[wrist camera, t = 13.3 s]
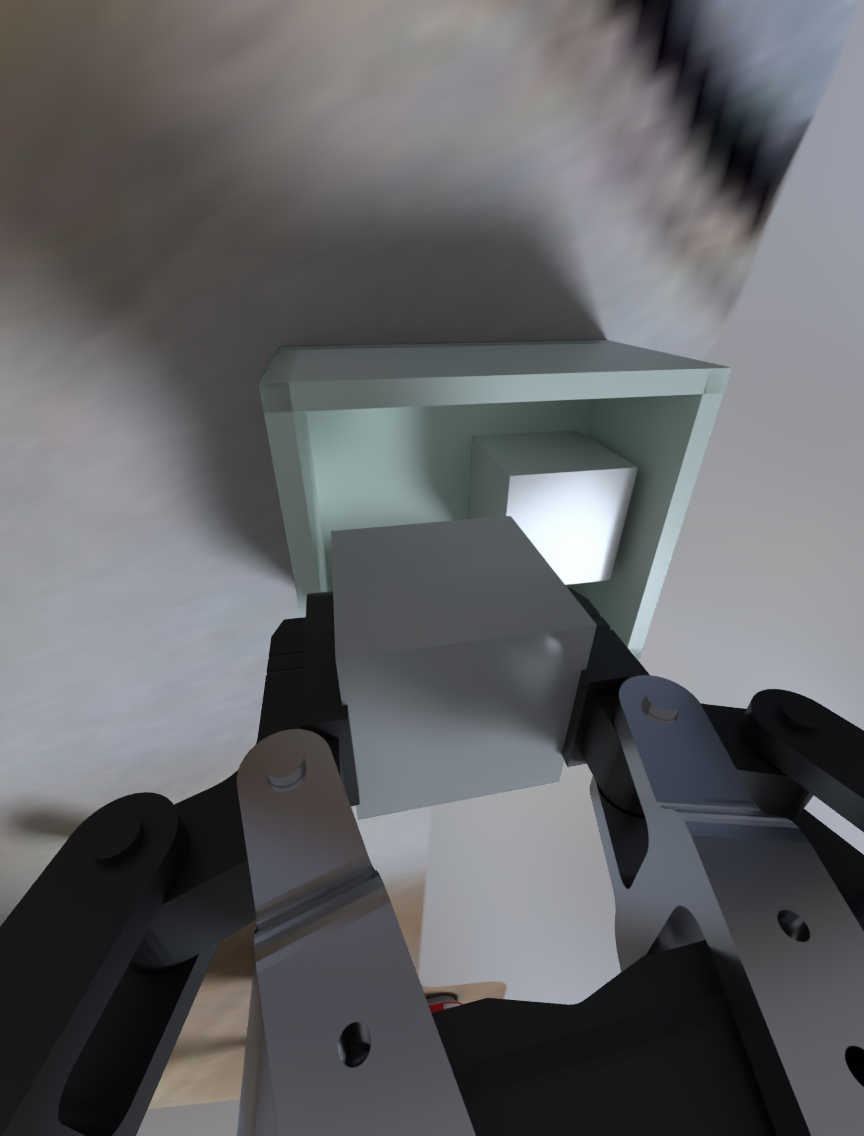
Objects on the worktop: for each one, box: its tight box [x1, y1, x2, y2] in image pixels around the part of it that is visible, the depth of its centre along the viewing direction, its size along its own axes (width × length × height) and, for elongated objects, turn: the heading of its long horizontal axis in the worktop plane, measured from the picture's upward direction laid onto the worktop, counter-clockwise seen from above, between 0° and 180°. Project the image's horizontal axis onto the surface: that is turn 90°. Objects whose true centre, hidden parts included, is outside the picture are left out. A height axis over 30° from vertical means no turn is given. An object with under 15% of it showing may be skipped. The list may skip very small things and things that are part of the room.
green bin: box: [258, 340, 732, 660], centre depth 16 cm, size 10×11×6 cm
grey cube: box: [468, 430, 638, 585], centre depth 16 cm, size 4×4×4 cm
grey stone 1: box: [331, 516, 597, 820], centre depth 10 cm, size 4×4×4 cm
